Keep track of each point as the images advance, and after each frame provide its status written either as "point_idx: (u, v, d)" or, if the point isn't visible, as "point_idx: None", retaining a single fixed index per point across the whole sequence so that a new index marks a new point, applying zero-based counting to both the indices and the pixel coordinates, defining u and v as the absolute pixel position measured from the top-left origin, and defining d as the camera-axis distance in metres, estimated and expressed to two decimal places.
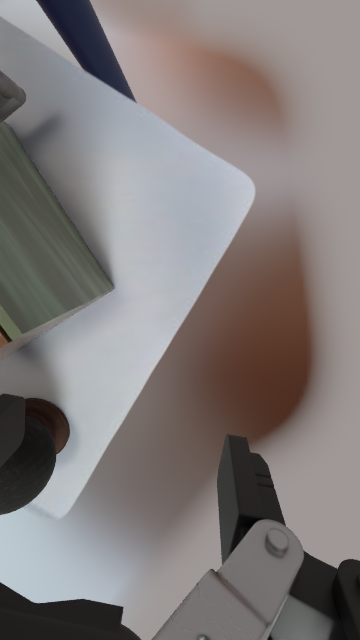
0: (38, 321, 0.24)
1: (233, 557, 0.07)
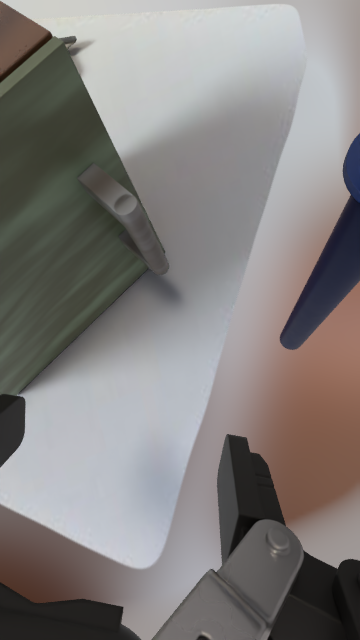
0: None
1: (233, 557, 0.07)
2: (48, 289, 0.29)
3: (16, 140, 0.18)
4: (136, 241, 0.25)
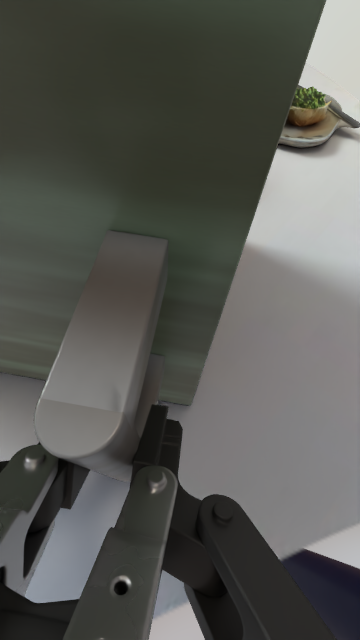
0: None
1: (125, 509, 0.07)
2: None
3: None
4: None
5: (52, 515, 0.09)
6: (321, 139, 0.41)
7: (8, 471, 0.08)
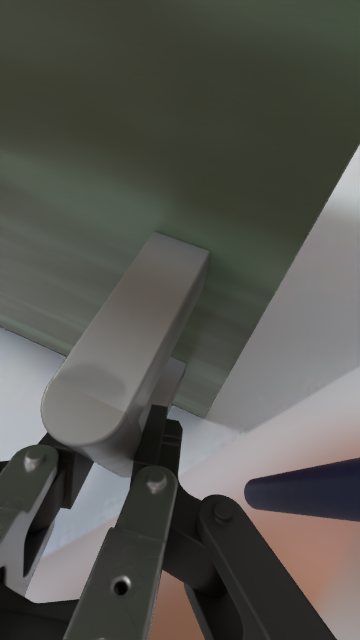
0: None
1: (124, 509, 0.07)
2: (10, 277, 0.16)
3: None
4: None
5: (52, 515, 0.09)
6: None
7: (8, 471, 0.08)
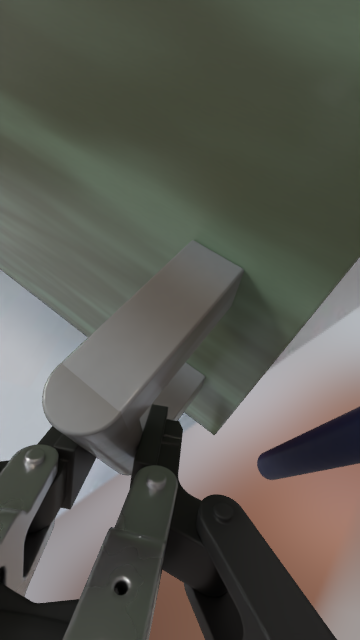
0: None
1: (125, 509, 0.07)
2: (58, 259, 0.17)
3: None
4: None
5: (52, 515, 0.09)
6: None
7: (8, 471, 0.08)
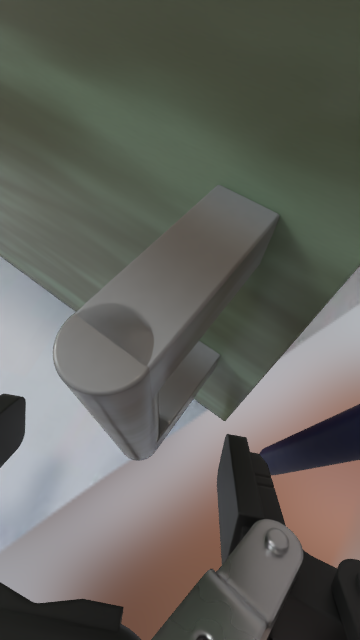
0: None
1: (233, 557, 0.07)
2: (59, 233, 0.16)
3: None
4: None
5: None
6: None
7: None
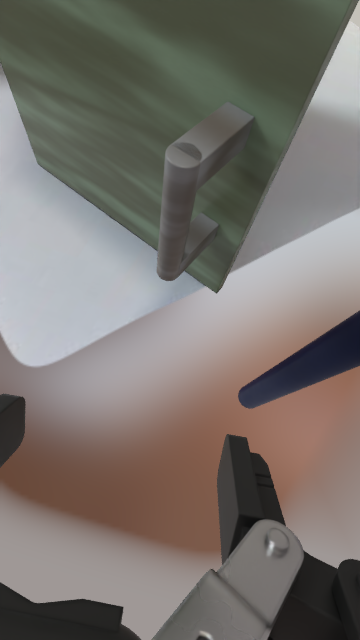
0: None
1: (233, 557, 0.07)
2: (118, 142, 0.24)
3: None
4: None
5: None
6: None
7: None
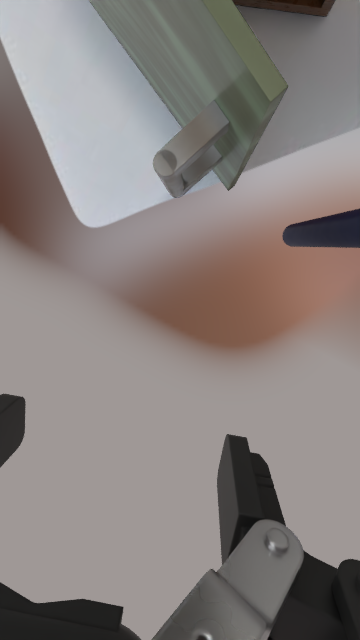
0: None
1: (233, 557, 0.07)
2: (149, 49, 0.26)
3: (196, 26, 0.15)
4: None
5: None
6: None
7: None
